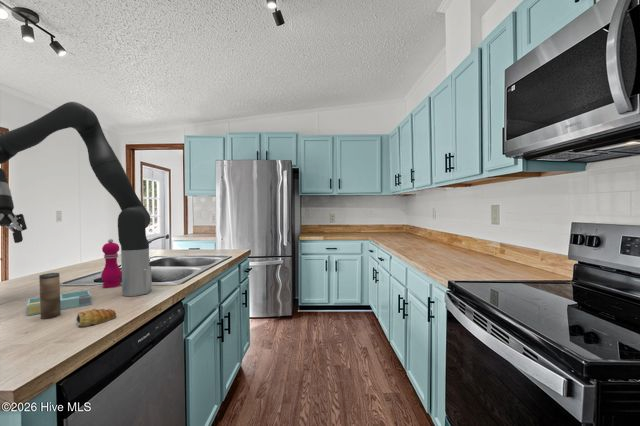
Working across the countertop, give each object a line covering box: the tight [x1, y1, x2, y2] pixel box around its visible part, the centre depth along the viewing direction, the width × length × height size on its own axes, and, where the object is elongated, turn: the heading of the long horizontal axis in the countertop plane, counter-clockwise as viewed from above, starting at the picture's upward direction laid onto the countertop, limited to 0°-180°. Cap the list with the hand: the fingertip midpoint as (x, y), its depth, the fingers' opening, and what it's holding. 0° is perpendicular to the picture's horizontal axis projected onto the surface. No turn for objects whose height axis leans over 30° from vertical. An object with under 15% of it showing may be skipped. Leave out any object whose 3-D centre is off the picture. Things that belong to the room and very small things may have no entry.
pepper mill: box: [100, 238, 122, 289], centre depth 128 cm, size 7×7×20 cm
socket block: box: [26, 289, 92, 317], centre depth 102 cm, size 16×10×3 cm, turn 132°
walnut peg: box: [38, 272, 62, 320], centre depth 93 cm, size 5×5×13 cm
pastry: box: [75, 308, 117, 328], centre depth 89 cm, size 9×7×4 cm
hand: (6, 242), depth 102 cm, fingers open, 8 cm apart
